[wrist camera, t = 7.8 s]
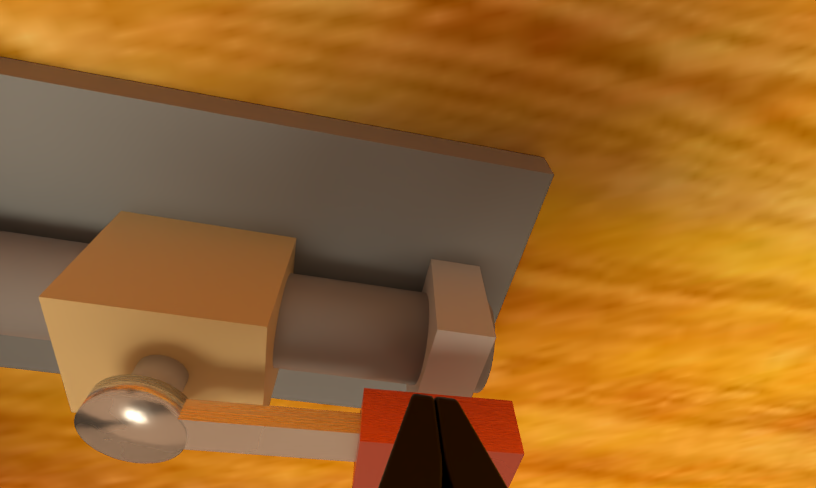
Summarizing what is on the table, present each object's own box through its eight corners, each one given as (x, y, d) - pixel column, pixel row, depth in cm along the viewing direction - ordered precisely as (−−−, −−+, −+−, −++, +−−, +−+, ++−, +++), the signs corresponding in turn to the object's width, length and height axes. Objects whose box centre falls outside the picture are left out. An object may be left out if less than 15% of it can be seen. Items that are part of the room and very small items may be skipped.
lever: (106, 424, 15) (75, 478, 14) (87, 359, 14) (48, 412, 12) (490, 454, 17) (499, 506, 15) (513, 396, 15) (526, 449, 13)
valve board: (453, 395, 26) (470, 546, 20) (-32, 336, 23) (-194, 491, 17) (543, 157, 19) (618, 280, 12) (-161, 27, 16) (-541, 98, 9)
